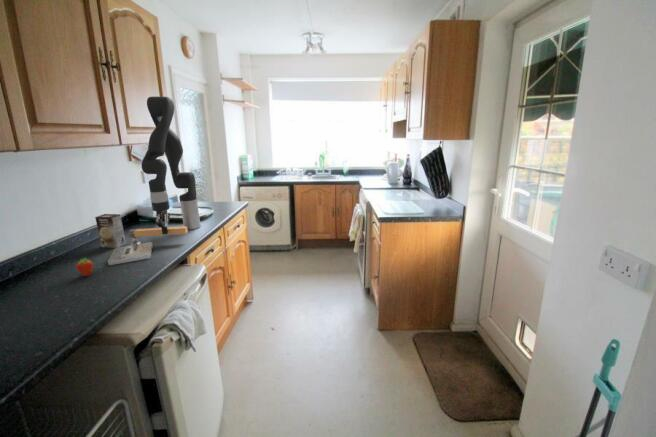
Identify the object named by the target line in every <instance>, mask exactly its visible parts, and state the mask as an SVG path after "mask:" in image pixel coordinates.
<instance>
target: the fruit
mask: <svg viewBox="0 0 656 437" xmlns="http://www.w3.org/2000/svg"><path fill="white" fill-rule="evenodd" d="M79 260H80V261H76V262H77V263H76V269H77V271H78V272H79V273H80V274H81V275H82V276H84V277H89V276H90V275H91V274H92V272H93V269H94V263H93V262H92V260H90V258H87V257H82V258H79Z"/></svg>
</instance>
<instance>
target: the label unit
mask: <svg viewBox="0 0 656 437" xmlns="http://www.w3.org/2000/svg"><path fill="white" fill-rule="evenodd" d="M153 247H154V246H153V242H145V243H141V244H137V245H131V246H130V245H123V246H120V247H117V248H114V247H113V248H114V249H113V250H112V253H111V254H110V256H109V258H108V260H107V263H108V266H113V265H119V264H125V263H131V262H137V261H141V260H143V261H144V260H149V259H151V258H152V253H153V252H152V251H153Z"/></svg>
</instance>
